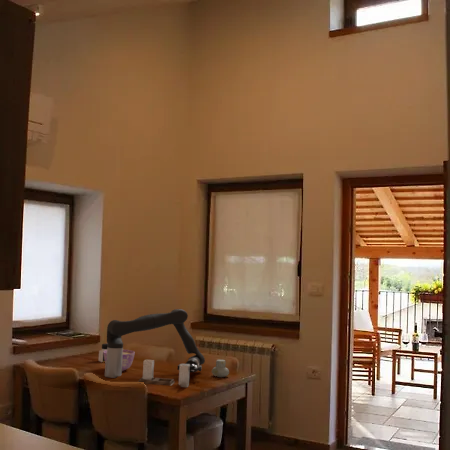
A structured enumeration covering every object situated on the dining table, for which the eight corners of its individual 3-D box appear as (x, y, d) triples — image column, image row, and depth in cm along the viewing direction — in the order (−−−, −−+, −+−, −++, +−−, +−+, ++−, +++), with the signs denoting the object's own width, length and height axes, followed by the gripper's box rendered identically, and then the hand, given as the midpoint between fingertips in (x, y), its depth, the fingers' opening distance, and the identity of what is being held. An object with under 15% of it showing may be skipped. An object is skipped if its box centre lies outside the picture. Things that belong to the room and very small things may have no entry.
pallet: (136, 384, 311) (136, 380, 311) (141, 380, 322) (141, 376, 322) (171, 387, 309) (171, 382, 309) (175, 383, 320) (175, 378, 320)
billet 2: (178, 386, 311) (179, 365, 312) (180, 384, 316) (181, 363, 317) (187, 387, 311) (188, 365, 312) (188, 385, 316) (189, 364, 317)
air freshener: (209, 375, 347) (210, 359, 348) (220, 374, 352) (221, 358, 353) (220, 378, 339) (220, 362, 339) (230, 377, 344) (231, 361, 344)
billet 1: (142, 382, 314) (143, 360, 315) (144, 380, 319) (145, 359, 320) (150, 382, 313) (152, 361, 314) (153, 381, 318) (154, 360, 319)
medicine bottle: (102, 362, 372) (103, 344, 373) (98, 361, 378) (99, 343, 379) (112, 362, 376) (113, 344, 377) (108, 360, 382) (109, 342, 383)
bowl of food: (127, 374, 338) (128, 355, 339) (96, 371, 342) (97, 352, 343) (138, 368, 357) (139, 350, 358) (109, 366, 361) (110, 348, 362)
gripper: (181, 358, 342) (176, 362, 326) (203, 359, 341) (199, 364, 324) (180, 370, 342) (175, 375, 325) (203, 372, 340) (199, 377, 324)
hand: (187, 369), depth 325 cm, fingers open, 8 cm apart
